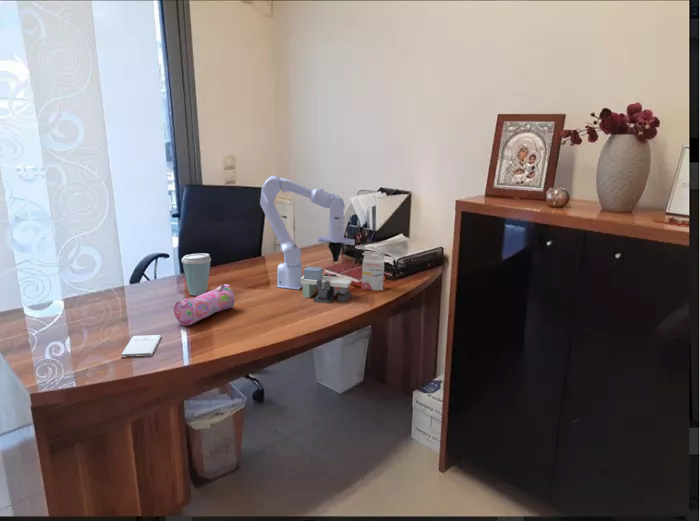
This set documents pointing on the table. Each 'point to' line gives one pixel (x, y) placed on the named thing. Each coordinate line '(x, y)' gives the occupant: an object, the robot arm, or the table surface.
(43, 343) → the table surface
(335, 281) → the plank
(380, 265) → the ink cartridge box
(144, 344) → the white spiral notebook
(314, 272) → the block
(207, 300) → the pencil case
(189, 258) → the disposable coffee cup
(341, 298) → the tip stop
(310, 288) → the level rest
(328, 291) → the stand
